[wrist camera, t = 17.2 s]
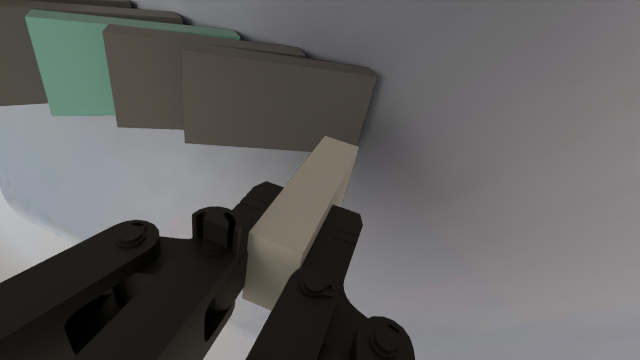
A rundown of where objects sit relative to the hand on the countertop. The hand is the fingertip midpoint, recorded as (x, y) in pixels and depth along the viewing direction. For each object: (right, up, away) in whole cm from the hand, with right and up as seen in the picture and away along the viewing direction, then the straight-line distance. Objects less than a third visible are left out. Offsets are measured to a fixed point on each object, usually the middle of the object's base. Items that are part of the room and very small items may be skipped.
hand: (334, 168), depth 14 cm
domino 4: (+2, +4, +6) cm, 7 cm away
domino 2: (-6, +6, +7) cm, 12 cm away
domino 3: (-2, +5, +7) cm, 9 cm away
